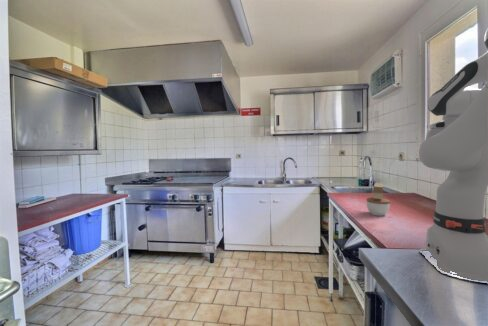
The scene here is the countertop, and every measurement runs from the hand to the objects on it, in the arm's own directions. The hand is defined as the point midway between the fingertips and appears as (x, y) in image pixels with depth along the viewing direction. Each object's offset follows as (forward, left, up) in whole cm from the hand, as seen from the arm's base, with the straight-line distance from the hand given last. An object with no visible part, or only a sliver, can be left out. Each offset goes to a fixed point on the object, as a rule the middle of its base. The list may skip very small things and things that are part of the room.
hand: (453, 155), depth 107 cm
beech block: (+6, +28, -22) cm, 36 cm away
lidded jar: (+6, +28, -31) cm, 42 cm away
